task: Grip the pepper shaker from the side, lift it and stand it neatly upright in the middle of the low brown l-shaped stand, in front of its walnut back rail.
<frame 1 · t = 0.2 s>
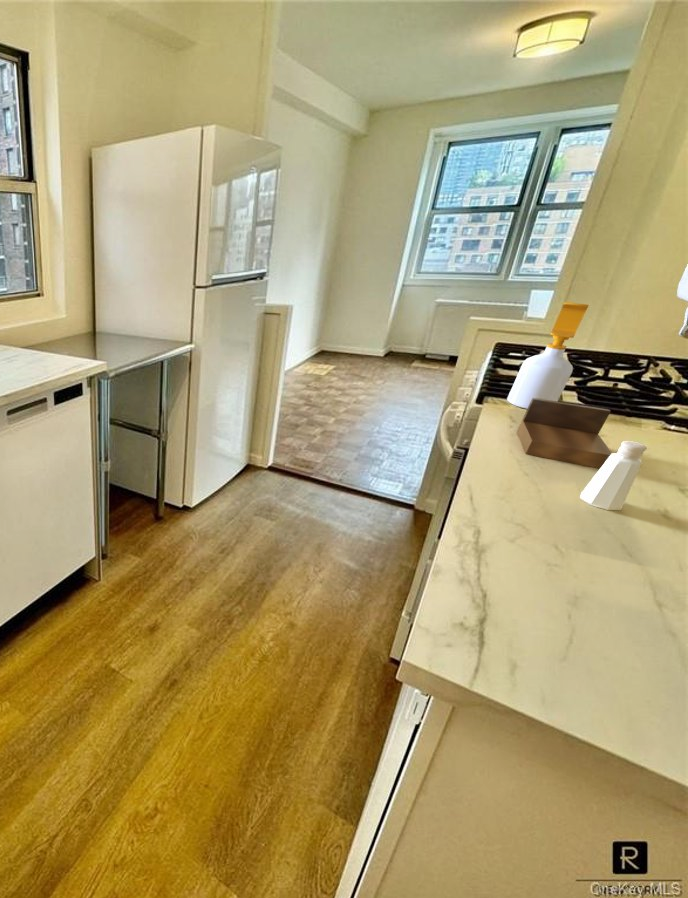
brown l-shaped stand: (558, 449, 98), on the worktop
pepper shaker: (599, 502, 81), on the worktop
soap bottle: (529, 405, 119), on the worktop
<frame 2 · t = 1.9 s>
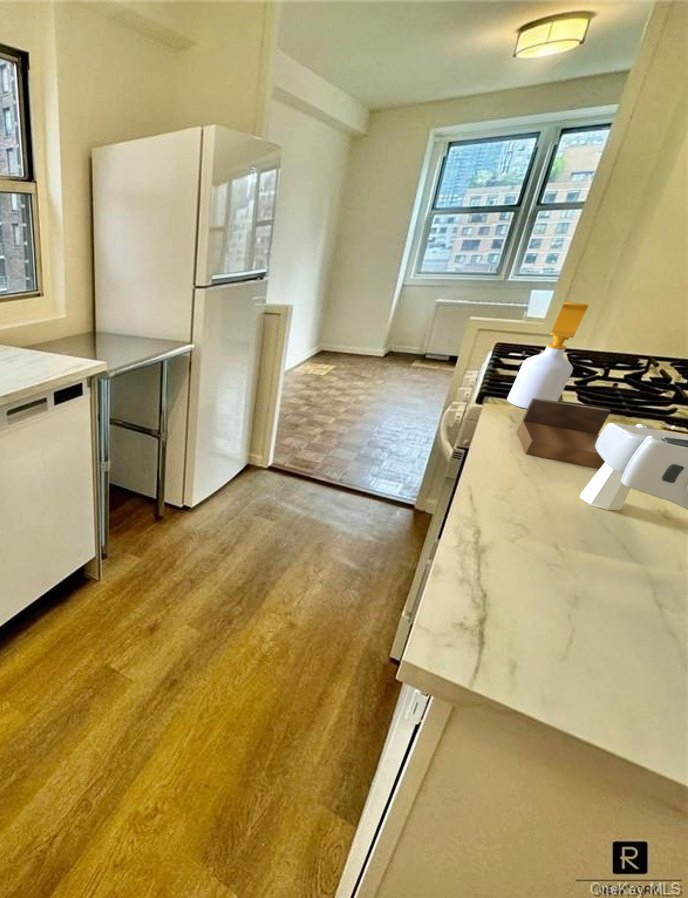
nothing on the worktop moved.
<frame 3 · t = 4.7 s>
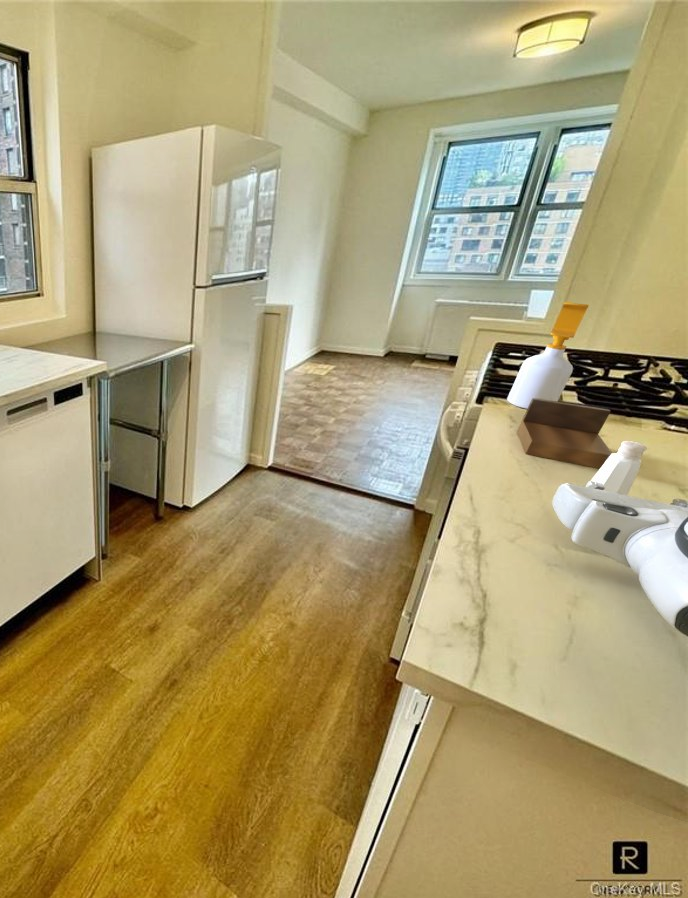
hand: (634, 494, 73), 6 cm above the worktop, tool horizontal, fingers open, 8 cm apart
nothing on the worktop moved.
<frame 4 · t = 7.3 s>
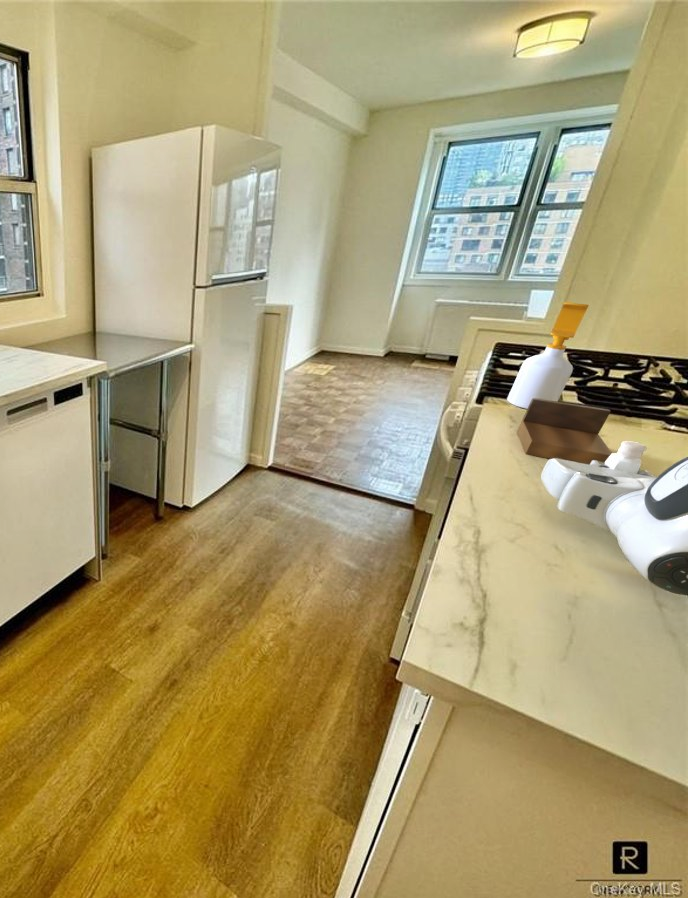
hand: (616, 468, 79), 6 cm above the worktop, tool horizontal, fingers closed on pepper shaker, 4 cm apart
pepper shaker: (599, 502, 81), on the worktop, touching gripper
everything else where it was.
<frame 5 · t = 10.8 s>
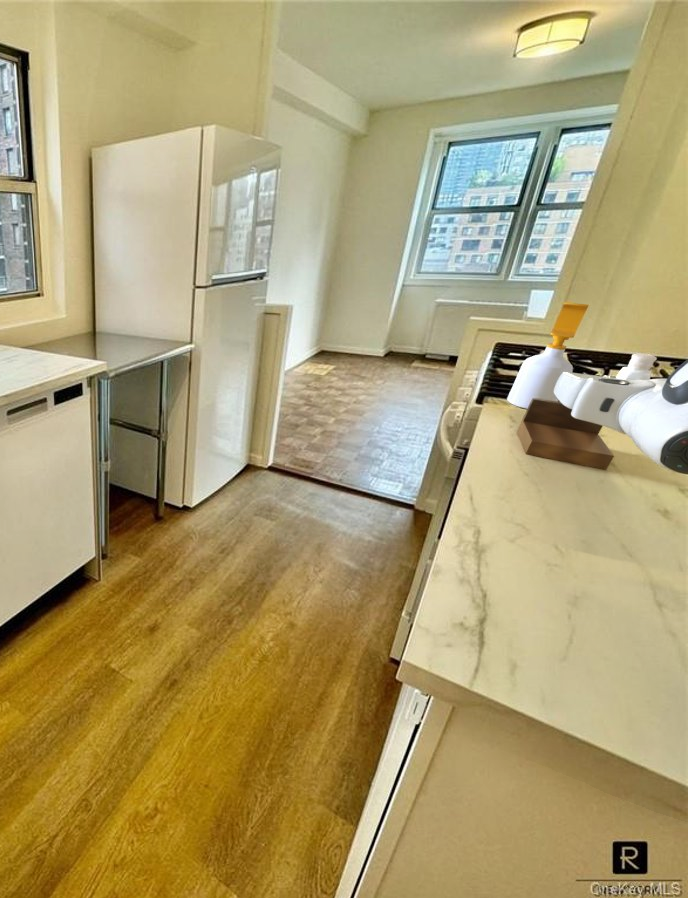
hand: (627, 382, 82), 18 cm above the worktop, tool horizontal, fingers closed on pepper shaker, 4 cm apart
pepper shaker: (610, 418, 84), point 11 cm above the worktop, touching gripper
everything else where it was.
when the fingers open (9 cm above the worktop, at t = 14.9 s): pepper shaker stays where it is, resting on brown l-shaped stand.
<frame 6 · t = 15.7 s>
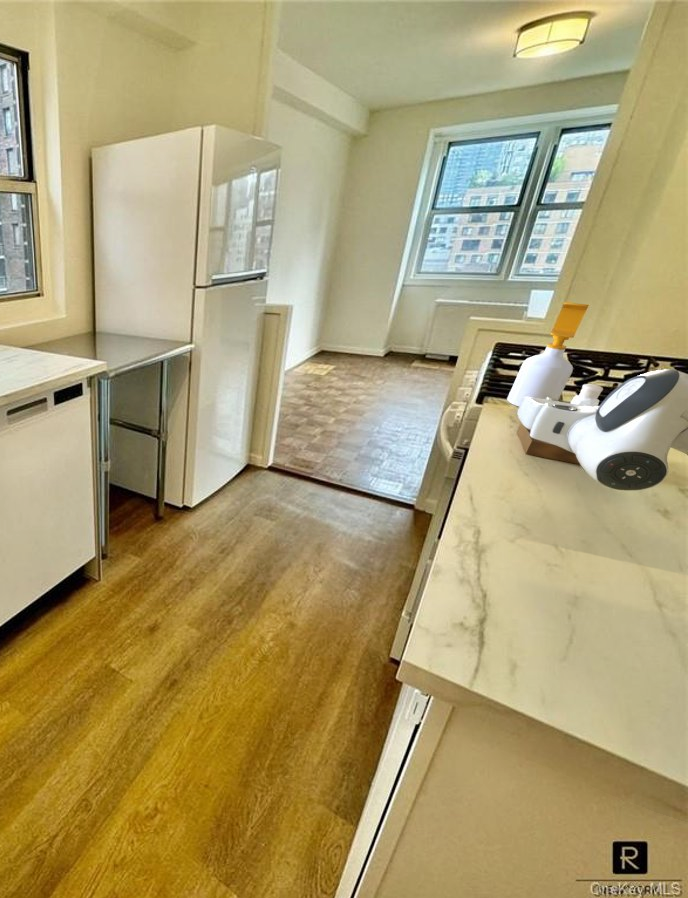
hand: (581, 406, 93), 10 cm above the worktop, tool horizontal, fingers open, 8 cm apart
pepper shaker: (565, 439, 96), point 3 cm above the worktop, touching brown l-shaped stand
everything else where it was.
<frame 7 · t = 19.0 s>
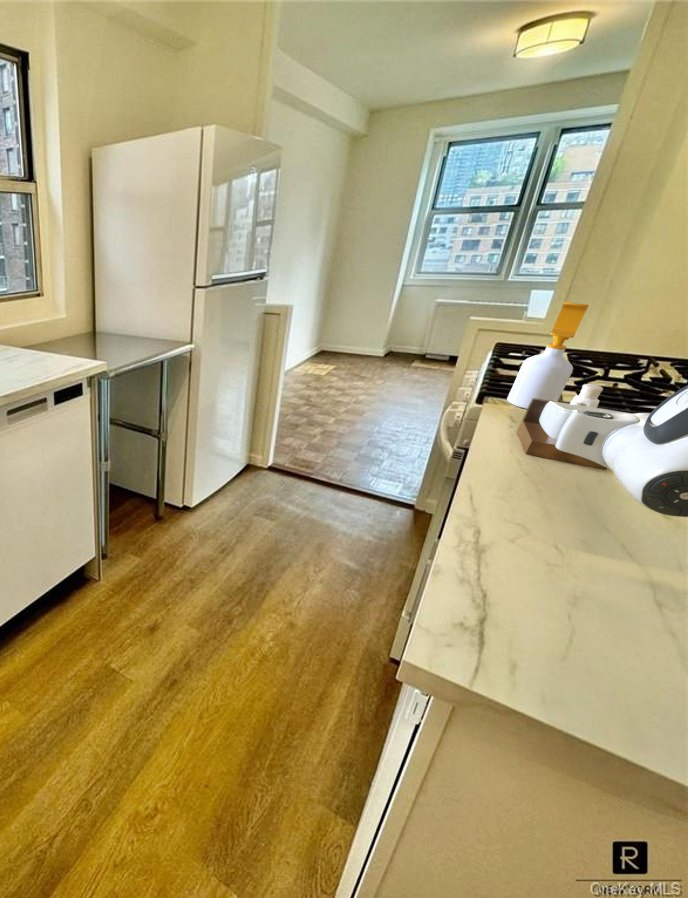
hand: (613, 412, 81), 14 cm above the worktop, tool horizontal, fingers open, 8 cm apart
nothing on the worktop moved.
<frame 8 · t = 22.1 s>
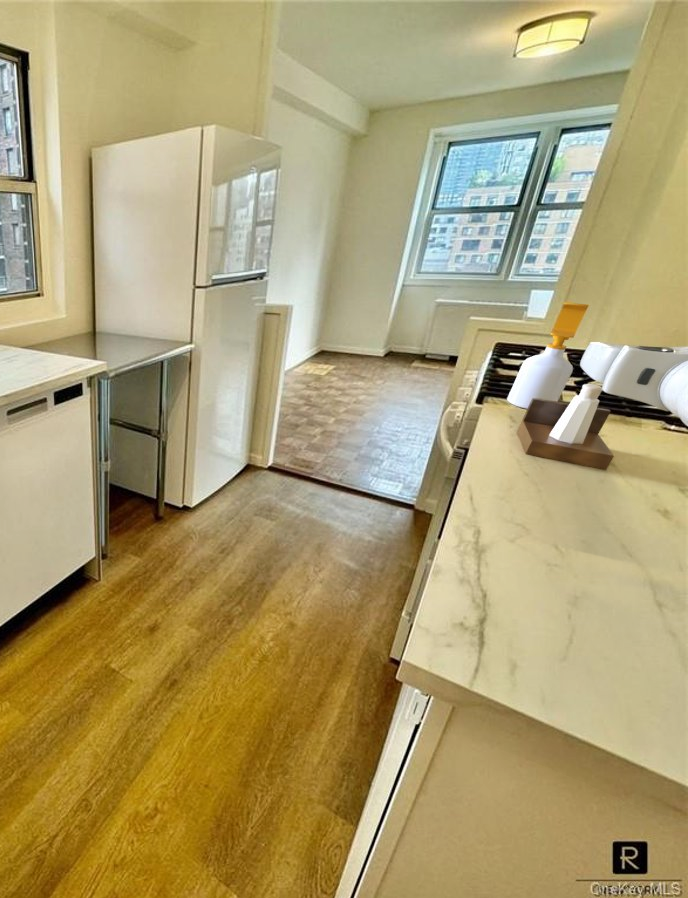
hand: (664, 354, 71), 25 cm above the worktop, tool horizontal, fingers open, 8 cm apart
nothing on the worktop moved.
at the end: pepper shaker inside the target area (0.6 cm from its centre), point 2.8 cm above the worktop; pepper shaker tilted 0° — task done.
